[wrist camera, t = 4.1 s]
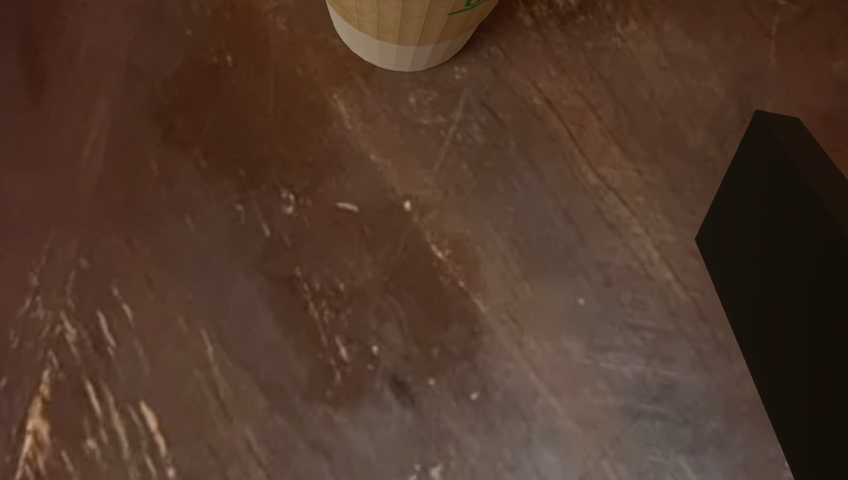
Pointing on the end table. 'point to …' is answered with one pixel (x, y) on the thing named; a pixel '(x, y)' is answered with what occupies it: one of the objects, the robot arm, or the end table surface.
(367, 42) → the coffee cup
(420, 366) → the end table surface
